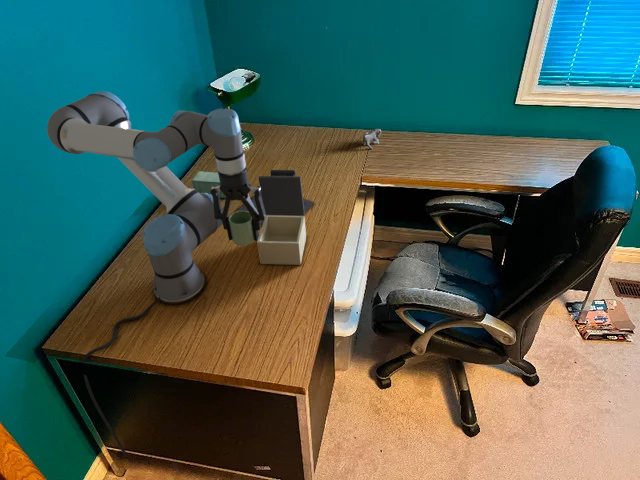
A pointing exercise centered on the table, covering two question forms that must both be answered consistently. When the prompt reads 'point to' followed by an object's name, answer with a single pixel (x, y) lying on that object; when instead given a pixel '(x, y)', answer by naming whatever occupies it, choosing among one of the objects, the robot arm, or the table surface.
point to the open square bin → (282, 240)
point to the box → (206, 182)
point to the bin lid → (282, 193)
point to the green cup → (241, 228)
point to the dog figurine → (371, 137)
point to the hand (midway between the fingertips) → (244, 237)
